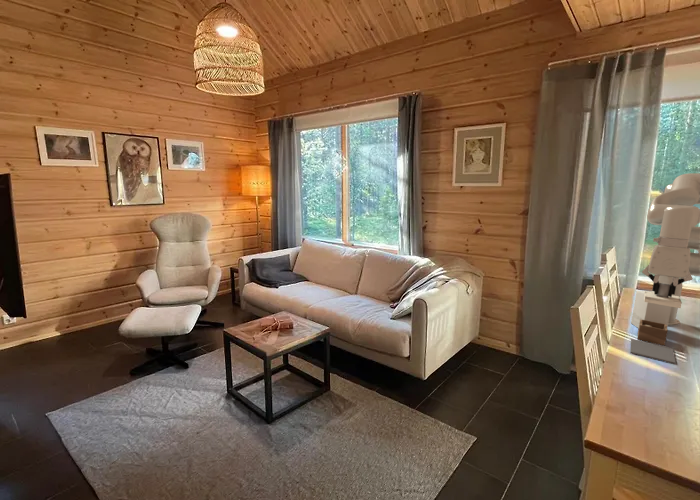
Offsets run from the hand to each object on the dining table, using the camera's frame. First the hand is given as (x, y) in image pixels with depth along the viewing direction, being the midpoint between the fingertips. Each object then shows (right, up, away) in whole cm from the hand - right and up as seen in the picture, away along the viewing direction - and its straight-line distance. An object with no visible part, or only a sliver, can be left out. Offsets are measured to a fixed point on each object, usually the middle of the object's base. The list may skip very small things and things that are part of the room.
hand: (662, 294), depth 126 cm
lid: (0, -3, 0) cm, 3 cm away
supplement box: (+16, -17, +25) cm, 35 cm away
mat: (-1, -21, +4) cm, 21 cm away
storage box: (+8, -19, +14) cm, 25 cm away
